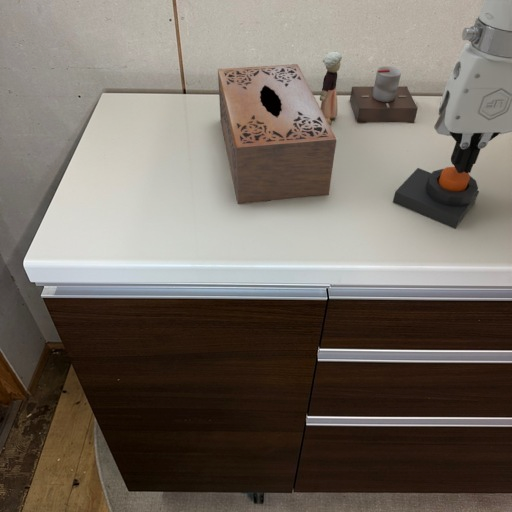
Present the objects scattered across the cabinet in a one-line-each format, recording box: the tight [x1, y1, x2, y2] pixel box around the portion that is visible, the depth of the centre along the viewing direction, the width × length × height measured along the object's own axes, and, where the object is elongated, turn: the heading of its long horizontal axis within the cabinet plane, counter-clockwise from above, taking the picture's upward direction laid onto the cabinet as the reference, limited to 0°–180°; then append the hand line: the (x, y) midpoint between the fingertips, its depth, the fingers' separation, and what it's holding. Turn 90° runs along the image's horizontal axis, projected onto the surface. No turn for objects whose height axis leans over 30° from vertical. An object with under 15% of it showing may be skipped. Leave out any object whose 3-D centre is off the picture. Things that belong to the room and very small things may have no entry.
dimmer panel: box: [349, 86, 419, 124], centre depth 92 cm, size 11×9×3 cm
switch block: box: [392, 167, 480, 230], centre depth 72 cm, size 10×8×4 cm
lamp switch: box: [439, 166, 471, 192], centre depth 70 cm, size 4×4×2 cm
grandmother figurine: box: [319, 51, 343, 126], centre depth 87 cm, size 8×4×13 cm, turn 168°
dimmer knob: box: [373, 66, 402, 102], centre depth 89 cm, size 4×4×5 cm
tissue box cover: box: [217, 63, 337, 205], centre depth 79 cm, size 26×14×10 cm, turn 9°
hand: (460, 167), depth 68 cm, fingers closed
